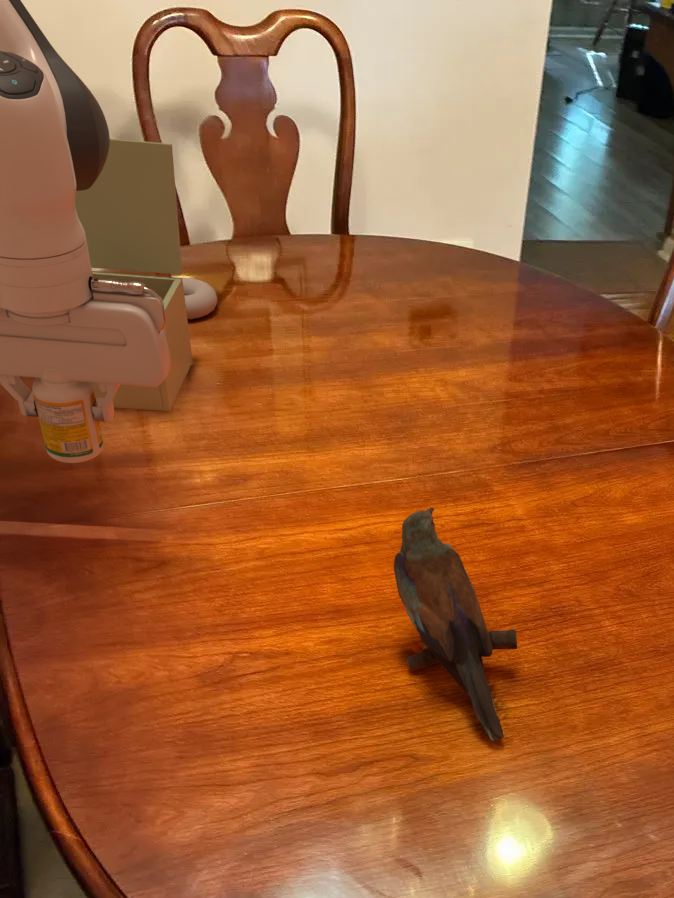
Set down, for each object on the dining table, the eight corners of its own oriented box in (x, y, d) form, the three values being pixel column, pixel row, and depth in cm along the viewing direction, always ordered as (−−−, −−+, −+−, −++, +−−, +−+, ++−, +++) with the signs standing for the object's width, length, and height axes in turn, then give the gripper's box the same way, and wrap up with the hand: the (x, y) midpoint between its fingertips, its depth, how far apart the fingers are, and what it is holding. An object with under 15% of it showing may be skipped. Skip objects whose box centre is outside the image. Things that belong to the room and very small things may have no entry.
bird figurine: (558, 726, 85) (525, 503, 80) (456, 756, 82) (415, 525, 77) (498, 694, 97) (466, 498, 92) (407, 719, 94) (369, 518, 89)
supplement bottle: (78, 470, 91) (58, 378, 85) (34, 453, 93) (11, 362, 86) (116, 445, 95) (100, 355, 89) (73, 429, 96) (54, 340, 90)
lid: (170, 144, 112) (172, 143, 113) (60, 135, 111) (62, 134, 112) (181, 274, 120) (182, 273, 120) (78, 266, 119) (80, 265, 120)
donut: (138, 319, 140) (204, 327, 139) (134, 295, 137) (201, 304, 136) (165, 292, 147) (228, 300, 146) (162, 270, 145) (225, 278, 144)
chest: (171, 422, 119) (157, 323, 110) (68, 415, 118) (45, 315, 110) (194, 371, 129) (182, 277, 120) (98, 365, 128) (79, 269, 120)
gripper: (169, 269, 85) (186, 408, 95) (-69, 248, 84) (-28, 391, 93) (152, 299, 81) (171, 442, 90) (-100, 277, 79) (-54, 424, 88)
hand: (68, 416), depth 91 cm, fingers closed on supplement bottle, 5 cm apart
